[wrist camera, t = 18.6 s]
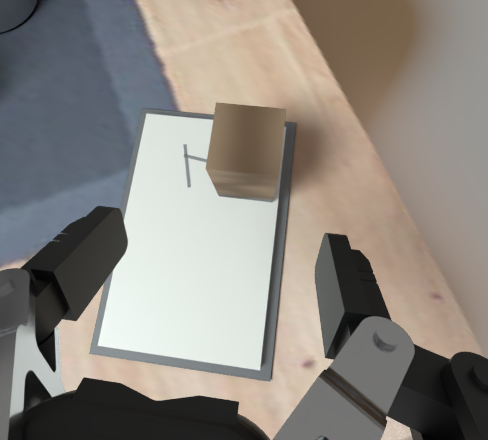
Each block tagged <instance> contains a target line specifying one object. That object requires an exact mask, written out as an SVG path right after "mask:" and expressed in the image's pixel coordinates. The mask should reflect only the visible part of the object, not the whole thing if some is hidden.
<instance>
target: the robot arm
mask: <svg viewBox="0 0 488 440" xmlns="http://www.w3.org/2000/svg"><path fill="white" fill-rule="evenodd" d="M36 3H37V0H0V33H1V32H4V31H8V30H10V29H12V28H14V27H16V26H18V25H19V24H21V23H22V22H23V21H24V20H26V19H27V18H28V17H29V15H30V14H31V13H32V11H33V10H34V8H35V5H36ZM127 246H128V238H127V234H126V229H125V225H124V220H123V216H122V212H121V210H120V209H119V208H112V207H104V206H98V207H96V208H95V209H94V210H93V211H91V212H90V213H89V214H88V215H87V216H86V217H82V218H80V219H79V220H77V221H75V222H73V223H71V224H69V225H68V226H67V227H66V228H65V229H64V230H63V231H62V232H61V234H58V235H57V236H56V237H55V238H54V239H53V241H52V242H49V243H48V244H47V245H46V246H45V247H44V248H43V249H41V250H40V251H39V252H38V253H37V254H36V255H35V256H34V257H32V258H31V259H30V260H29V261H28V262H27V263H26V264H25V265H24V266H22V267H21V268H20V269H18V268H14V269H6V270H2V271H0V440H270V439H269V437H268V436H267V435H266V434H265V433H264V432H263V431H262V430H261V429H260V428H259V427H258V426H257V425H256V424H254V423H253V422H252V421H250V420H249V419H247V418H246V417H244V416H242V415H240V414H238V405H239V402H236V401H230V400H224V399H217V398H211V397H205V396H194V397H186V398H178V399H170V400H163V401H155V400H152V399H150V398H148V397H146V396H144V395H142V394H141V393H139V392H137V391H135V390H133V389H131V388H129V387H127V386H125V385H123V384H121V383H116V382H109V381H103V380H97V379H90V378H83V380H82V381H81V383H80V385H79V386H78V388H77V390H74V391H70V392H65V389H64V386H63V382H62V375H61V357H60V338H59V329H58V327H57V325H58V324H59V322H60V321H61V320H62V319H65V320H72V321H77V320H78V318H79V317H80V315H81V314H82V313H83V311H84V310H85V308H86V307H87V306H88V304H89V303H90V301H91V300H92V299H93V297H94V296H95V295H96V293H97V292H98V290H99V289H100V288H101V286H102V285H103V283H104V282H105V281H106V279H107V278H108V276H109V275H110V274H111V272H112V271H113V269H114V268H115V267H116V265H117V264H118V263H119V261H120V260H121V258H122V257H123V256H124V254H125V252H126V250H127ZM376 282H377V281H376V278H375V276H374V274H373V270H372V268H371V265H370V262H369V260H368V259H367V258H366V257H365V256H364V255H363V254H362V253H361V251H360V250H353V249H351V247H350V244H349V241H348V238H347V236H346V235H340V234H331V233H325V234H324V237H323V240H322V243H321V247H320V251H319V254H318V258H317V261H316V266H315V284H316V291H317V299H318V307H319V314H320V322H321V330H322V337H323V345H324V353H325V358H328V359H334V361H333V362H332V364H331V365H330V366H329V368H328V369H327V370H324V371H323V372H322V373H321V374H320V375H319V376H318V378H317V379H316V381H315V382H314V383H313V385H312V386H311V387H310V389H309V390H308V392H307V393H306V394H305V396H304V397H303V398H302V400H301V401H300V403H299V404H298V405H297V407H296V408H295V409H294V411H293V412H292V414H291V415H290V416H289V418H288V419H287V420H286V422H285V423H284V425H283V426H282V427H281V429H280V430H279V432H278V433H277V434H276V436H275V437H274V438H273V440H380V439H381V437H382V435H383V433H384V430H385V427H386V424H387V420H386V416H388V417H390V418H392V419H394V420H396V421H398V422H400V423H402V424H404V425H406V426H408V427H410V430H411V434H412V438H413V440H488V359H487V358H485V357H482V356H480V355H478V354H475V353H471V352H459V353H456V354H455V355H454V356H453V357H452V358H451V359H447V358H445V357H443V356H440V355H438V354H435V353H433V352H430V351H428V350H426V349H423V348H421V347H419V346H417V345H415V344H413V342H412V340H411V338H410V336H409V335H408V334H407V333H406V331H405V330H404V329H403V328H401V327H400V326H399V325H398V324H396V323H395V322H393V321H392V320H391V318H390V315H389V313H388V310H387V307H386V305H385V302H384V299H383V297H382V294H381V291H380V289H379V286H378V284H377V283H376Z"/></svg>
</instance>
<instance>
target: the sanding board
mask: <svg viewBox="0 0 488 440" xmlns="http://www.w3.org/2000/svg"><path fill="white" fill-rule="evenodd" d="M213 119H214V115H208V114H198V113H187V112H177V111H166V110H155V109H145V108H142V110H141V115H140V120H139V124H138V129H137V134H136V138H135V143H134V148H133V152H132V157H131V162H130V166H129V171H128V176H127V180H126V185H125V190H124V194H123V199H122V204H121V208H120V210H121V212H122V216H123V220H124V225H125V229H126V234H127V238H128V246H127V250H126V252H125V254H124V256H123V257H122V258H121V260H120V261H119V263H118V264H117V265H116V267H115V268H114V269H113V271H112V272H111V274H110V275H109V276H108V278H107V279H106V281H105V283H104V288H103V292H102V297H101V302H100V306H99V311H98V316H97V320H96V325H95V330H94V334H93V339H92V344H91V348H90V353H89V354H94V355H101V356H107V357H114V358H120V359H127V360H133V361H140V362H146V363H153V364H159V365H166V366H172V367H179V368H185V369H192V370H198V371H205V372H211V373H218V374H224V375H231V376H237V377H244V378H250V379H257V380H263V381H270V378H271V368H272V359H273V349H274V339H275V329H276V319H277V309H278V299H279V289H280V280H281V270H282V260H283V250H284V240H285V230H286V220H287V210H288V200H289V191H290V181H291V171H292V161H293V151H294V141H295V131H296V123H293V122H285V125H284V134H283V143H282V152H281V161H280V170H279V177H278V182H277V186H276V190H275V194H274V198H273V202H264V201H255V200H247V199H238V198H229V197H220V196H218V194H217V191H216V189H215V187H214V185H213V183H212V181H211V179H210V177H209V175H208V173H207V171H206V162H207V156H208V150H209V144H210V138H211V132H212V126H213Z"/></svg>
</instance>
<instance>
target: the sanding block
mask: <svg viewBox="0 0 488 440" xmlns="http://www.w3.org/2000/svg"><path fill="white" fill-rule="evenodd" d="M285 116H286V109H279V108H269V107H258V106H247V105H237V104H226V103H216V107H215V113H214V119H213V126H212V132H211V138H210V144H209V150H208V156H207V162H206V171H207V173H208V175H209V177H210V179H211V181H212V183H213V185H214V187H215V189H216V191H217V194H218V196H220V197H229V198H238V199H247V200H255V201H264V202H273V198H274V194H275V190H276V186H277V182H278V177H279V170H280V161H281V152H282V143H283V134H284V125H285Z"/></svg>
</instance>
